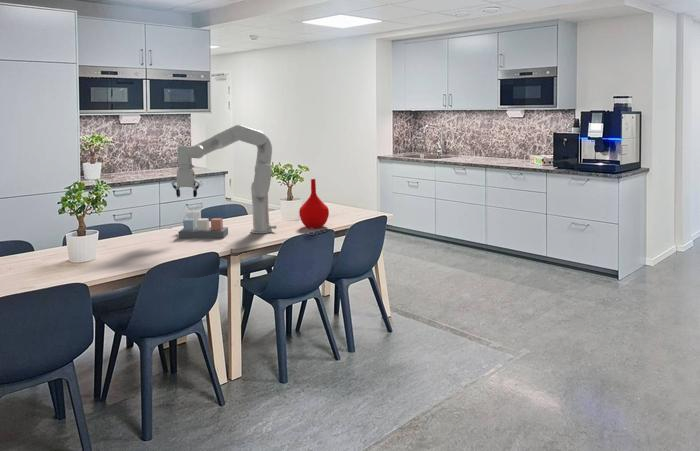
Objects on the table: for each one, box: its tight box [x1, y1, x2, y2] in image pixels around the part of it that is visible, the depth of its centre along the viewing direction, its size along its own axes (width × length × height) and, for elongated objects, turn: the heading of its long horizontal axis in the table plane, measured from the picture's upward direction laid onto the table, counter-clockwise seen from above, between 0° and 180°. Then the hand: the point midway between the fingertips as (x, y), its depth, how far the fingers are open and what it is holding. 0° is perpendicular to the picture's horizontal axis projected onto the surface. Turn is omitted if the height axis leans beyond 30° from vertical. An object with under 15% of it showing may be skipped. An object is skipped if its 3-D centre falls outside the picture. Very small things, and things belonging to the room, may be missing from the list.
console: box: [177, 226, 229, 240], centre depth 355 cm, size 26×12×4 cm, turn 89°
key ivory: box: [197, 217, 210, 231], centre depth 354 cm, size 6×6×6 cm
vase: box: [298, 178, 330, 229], centre depth 376 cm, size 18×18×30 cm
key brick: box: [210, 217, 224, 230], centre depth 354 cm, size 6×6×6 cm
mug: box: [183, 209, 202, 228], centre depth 370 cm, size 12×8×12 cm
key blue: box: [182, 218, 196, 231], centre depth 355 cm, size 6×6×6 cm
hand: (186, 196), depth 353 cm, fingers open, 9 cm apart
